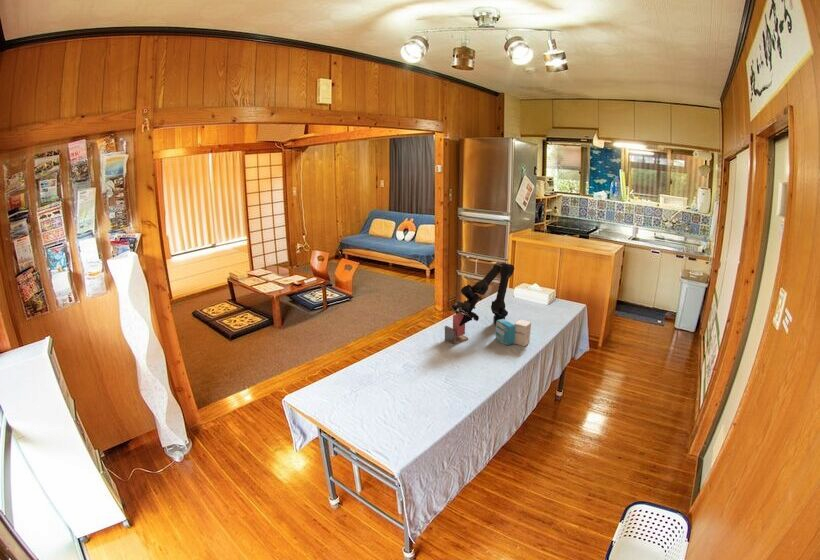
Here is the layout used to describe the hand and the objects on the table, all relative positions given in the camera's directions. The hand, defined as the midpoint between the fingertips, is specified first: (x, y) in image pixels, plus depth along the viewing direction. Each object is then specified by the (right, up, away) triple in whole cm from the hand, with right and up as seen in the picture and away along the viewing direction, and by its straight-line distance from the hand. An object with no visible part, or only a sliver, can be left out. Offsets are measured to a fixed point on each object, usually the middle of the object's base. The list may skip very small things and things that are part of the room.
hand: (457, 324), depth 247 cm
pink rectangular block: (+1, -6, +3) cm, 7 cm away
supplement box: (+37, -10, -2) cm, 38 cm away
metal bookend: (-4, -10, 0) cm, 11 cm away
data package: (+28, -10, 0) cm, 29 cm away
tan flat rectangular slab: (+1, -9, +4) cm, 10 cm away
